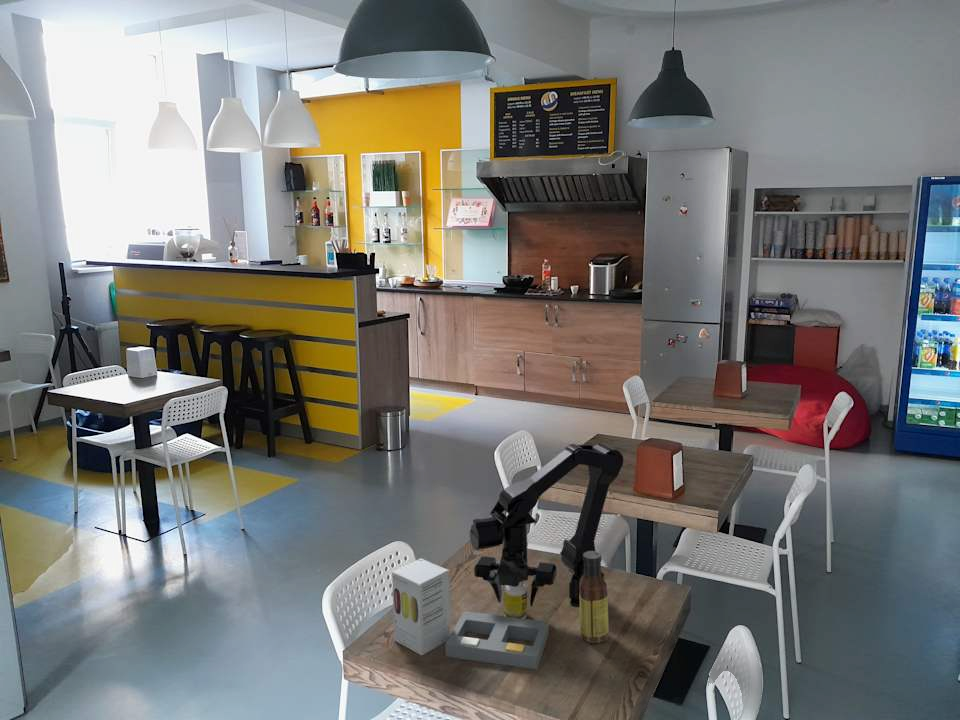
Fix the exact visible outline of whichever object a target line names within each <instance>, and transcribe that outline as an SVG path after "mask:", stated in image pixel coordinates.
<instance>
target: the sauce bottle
mask: <svg viewBox="0 0 960 720" xmlns="http://www.w3.org/2000/svg"><path fill="white" fill-rule="evenodd" d="M583 561H584V574H583V575H582V577H581V579H580V581H579V588H580V593H579V600H580V606H579V621H580V622H579V623H580V624H579V626H580V634H581V637H582V639H583V640H584V641H585V642H588V643H591V644H602V643H604V642H606V641H607V640H608V637H609V631H610V630H609V604H608V603H609V602H608V601H609V599H608V596H609V595H608V588H607V587H608V586H607V583H606V581H605V579H604V578H603V576H602V574H601V572H602V554H601V553H600V552H599V551H596V550H595V551H587V552H585V553H584V554H583Z"/></svg>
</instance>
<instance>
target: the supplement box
mask: <svg viewBox="0 0 960 720" xmlns="http://www.w3.org/2000/svg"><path fill="white" fill-rule="evenodd" d="M391 581H392V584H391V585H392V609H393V610H392V611H393V634H394V635H393V638H394V642H397V643H398V644H400V645H402V646H404V647H405V648H407V649H409V650H411V651H412V652H414V653H416V654H417V655H420V656H424V655H426V654H427V653H429V652H431V651H432V650H434V649H435V648H438V647H439V646H441V645H443V644H444V643H446V642H447V640H448V638H449V636H450V635H451V633H452V631H451V599H450V598H451V597H450V595H451V593H450V592H451V590H450V588H451V587H450V570H449V569H448V568H444V567H442V566H441V565H440V566H439V565H437V564H435V563H433V562H430V561H429V560H426V559H424V558H421V557H420V558H419V559H416V560H415V561H414V560H413V561H412V562H410V563H407V564H406V565H403V566H401V567H398V568H397V569H394V570H393V571H392V572H391Z"/></svg>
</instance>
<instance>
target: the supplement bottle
mask: <svg viewBox="0 0 960 720" xmlns="http://www.w3.org/2000/svg"><path fill="white" fill-rule="evenodd" d="M503 593H504V595H503V597H504V598H503V600H504V601H503V602H504V605H503V606H504V607H503V608H504V609H503V610H504V614H503V616H507V617H515V618H523V619H527V616H528V587H527V586H526V584H525V580H523V582H520V583H519V585H518V586H516V587H513V586H509V585H504V591H503Z"/></svg>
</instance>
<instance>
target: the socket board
mask: <svg viewBox="0 0 960 720" xmlns="http://www.w3.org/2000/svg"><path fill="white" fill-rule="evenodd" d="M549 627H550V622H549V621H547V620H537V619H531V618H530V619H529V618H525V619H523V618H515V617H507V616H505V615H498V614H490V613H484V612H474V611H467V610H464V611H463V612H462V614H461V615H460V618H459V619H458V621H457V623H456V624H455V626H454V628H453V630H452V631H451V635H450V636H449V638H448V640H447V641H446V642H444V643H445V645H444V646H445V657H447V658H454V659H461V660H462V659H463V660H466V661H468V660H469V661H475V662H481V663H489V664H497V665H504V666H509V667H515V668H516V667H517V668H524V669H531V670H538V667H539V665H540V661H541V659H542V655H543V652H544V649H545V647H546V644H547V640H548V638H549V635H550V634H549V633H550V629H549ZM466 633H473V634H481V635H489V637H488V639H481V638H476V637H467V636H465V634H466ZM509 638H511V639H512V638H513V639H520V640H526V641H527V640H528V641H534V643H533V645H527V644H521V643H514V642H513V643H512V642H508V640H509Z"/></svg>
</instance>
